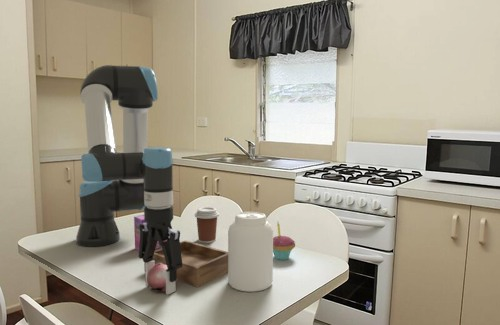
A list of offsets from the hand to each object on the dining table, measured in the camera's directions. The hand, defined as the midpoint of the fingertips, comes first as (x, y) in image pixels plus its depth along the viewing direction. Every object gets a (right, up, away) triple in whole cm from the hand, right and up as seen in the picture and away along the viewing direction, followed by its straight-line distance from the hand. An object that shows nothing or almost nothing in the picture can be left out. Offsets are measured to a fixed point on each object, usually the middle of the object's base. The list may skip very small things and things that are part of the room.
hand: (160, 288), depth 110 cm
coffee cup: (+8, +5, +42) cm, 43 cm away
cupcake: (+35, +2, +25) cm, 43 cm away
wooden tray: (+6, +1, +13) cm, 15 cm away
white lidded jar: (+24, 0, +4) cm, 25 cm away
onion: (0, 0, 0) cm, 1 cm away
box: (-11, +4, +34) cm, 36 cm away
